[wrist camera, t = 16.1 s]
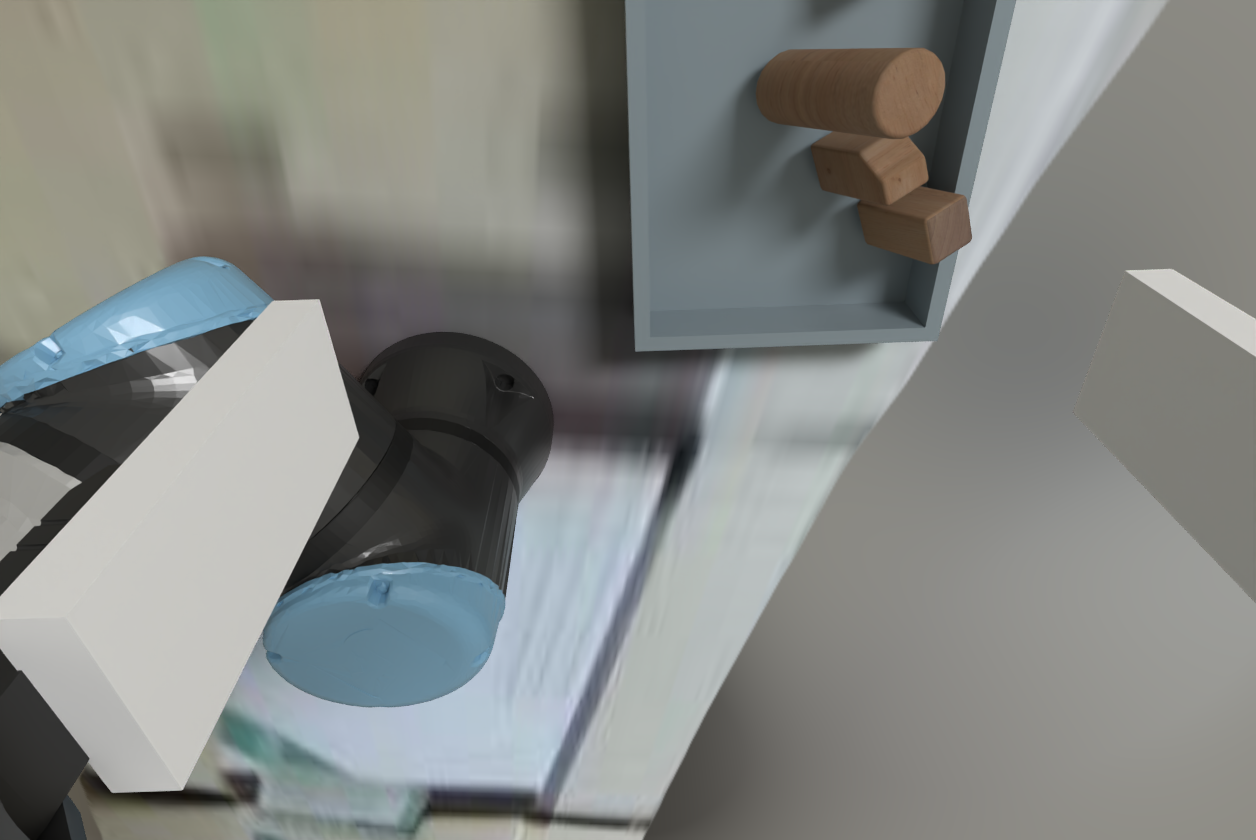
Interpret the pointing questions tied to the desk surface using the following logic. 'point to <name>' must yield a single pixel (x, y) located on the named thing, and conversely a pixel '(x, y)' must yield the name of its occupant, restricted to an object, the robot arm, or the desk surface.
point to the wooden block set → (872, 139)
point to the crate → (782, 173)
